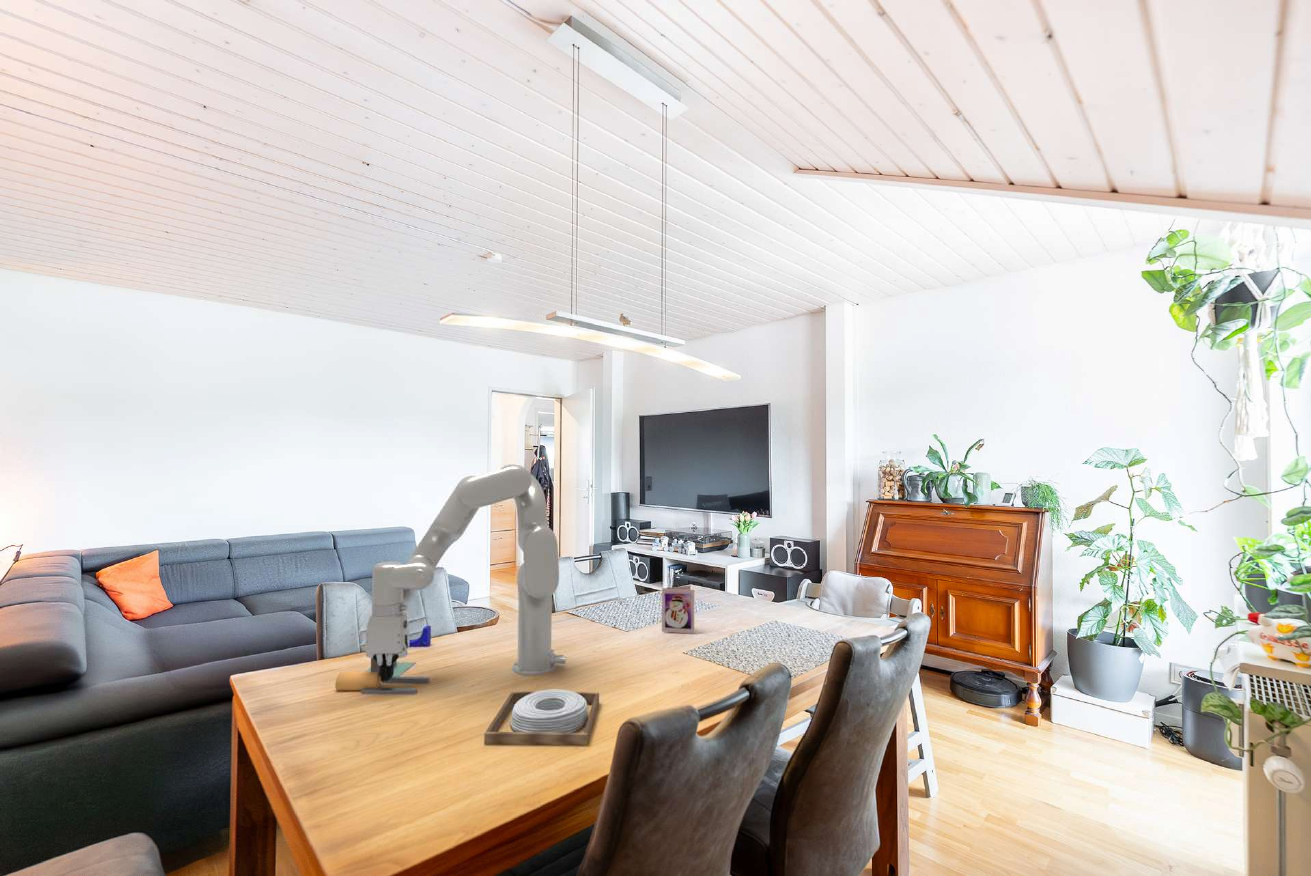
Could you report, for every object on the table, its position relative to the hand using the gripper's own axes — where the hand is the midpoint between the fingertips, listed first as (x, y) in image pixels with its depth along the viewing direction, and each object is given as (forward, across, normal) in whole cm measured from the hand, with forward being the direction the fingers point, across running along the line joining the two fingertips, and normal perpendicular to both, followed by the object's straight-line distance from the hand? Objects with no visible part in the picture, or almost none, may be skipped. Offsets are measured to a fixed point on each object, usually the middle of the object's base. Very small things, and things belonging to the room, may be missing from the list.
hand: (386, 679), depth 153 cm
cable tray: (+3, -47, +20) cm, 51 cm away
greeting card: (+3, -78, -54) cm, 95 cm away
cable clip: (+3, +9, -34) cm, 35 cm away
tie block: (+2, +6, -12) cm, 13 cm away
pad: (+3, +6, -13) cm, 14 cm away
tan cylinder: (+3, +7, 0) cm, 7 cm away
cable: (+3, -47, +20) cm, 51 cm away
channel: (+3, -3, 0) cm, 4 cm away
